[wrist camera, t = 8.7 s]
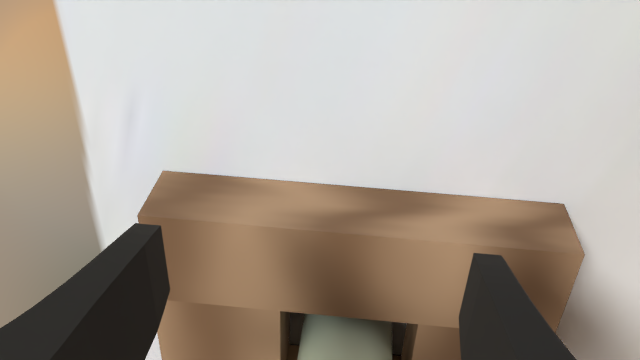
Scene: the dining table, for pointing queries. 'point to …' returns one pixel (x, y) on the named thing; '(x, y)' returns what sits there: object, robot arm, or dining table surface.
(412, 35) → the dining table surface
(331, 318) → the peg
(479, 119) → the dining table surface
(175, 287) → the peg board
